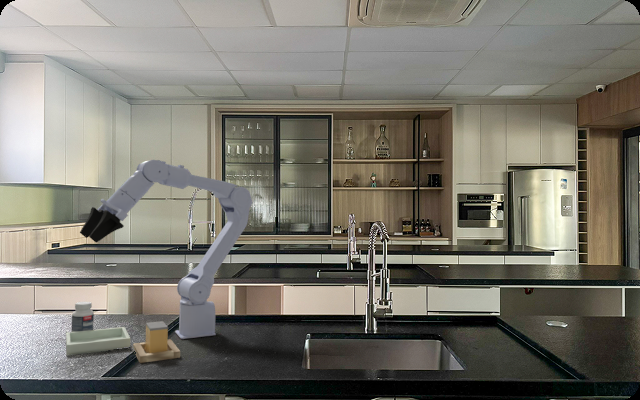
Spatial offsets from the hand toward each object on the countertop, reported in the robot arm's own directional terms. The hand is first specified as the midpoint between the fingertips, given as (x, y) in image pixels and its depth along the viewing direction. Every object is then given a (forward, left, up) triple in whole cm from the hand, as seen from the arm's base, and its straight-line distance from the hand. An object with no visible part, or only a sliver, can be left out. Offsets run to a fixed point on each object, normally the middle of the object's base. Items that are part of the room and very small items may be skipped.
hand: (87, 237), depth 115 cm
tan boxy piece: (-15, +9, -28) cm, 33 cm away
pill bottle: (0, -15, -28) cm, 31 cm away
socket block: (-15, +9, -28) cm, 33 cm away
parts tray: (-3, -4, -28) cm, 28 cm away
